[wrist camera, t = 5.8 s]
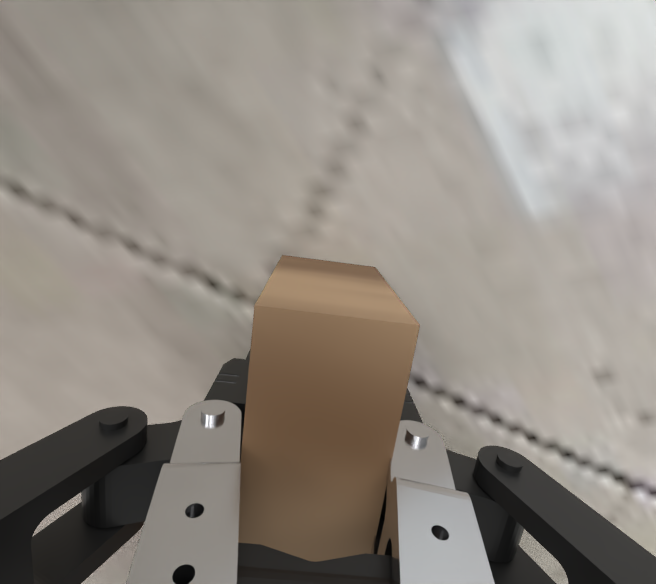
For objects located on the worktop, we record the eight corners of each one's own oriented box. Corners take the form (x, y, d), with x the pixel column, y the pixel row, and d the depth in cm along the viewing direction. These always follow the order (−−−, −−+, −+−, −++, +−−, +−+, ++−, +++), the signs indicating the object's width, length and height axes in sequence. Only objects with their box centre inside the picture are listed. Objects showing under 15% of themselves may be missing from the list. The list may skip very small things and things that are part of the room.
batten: (282, 255, 12) (254, 305, 7) (375, 267, 12) (419, 325, 7) (237, 677, 17) (200, 902, 11) (304, 681, 17) (299, 905, 12)
